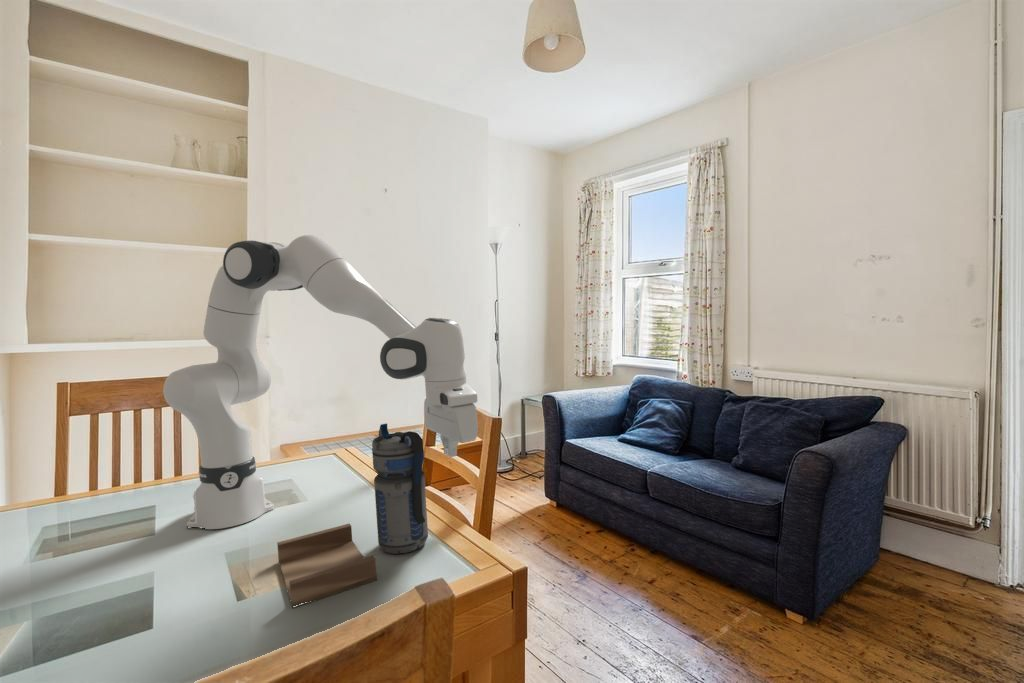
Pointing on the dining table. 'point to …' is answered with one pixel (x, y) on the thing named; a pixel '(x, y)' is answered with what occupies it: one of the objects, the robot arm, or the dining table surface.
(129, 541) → the dining table surface
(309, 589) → the walnut cradle
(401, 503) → the beverage bottle
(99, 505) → the dining table surface
